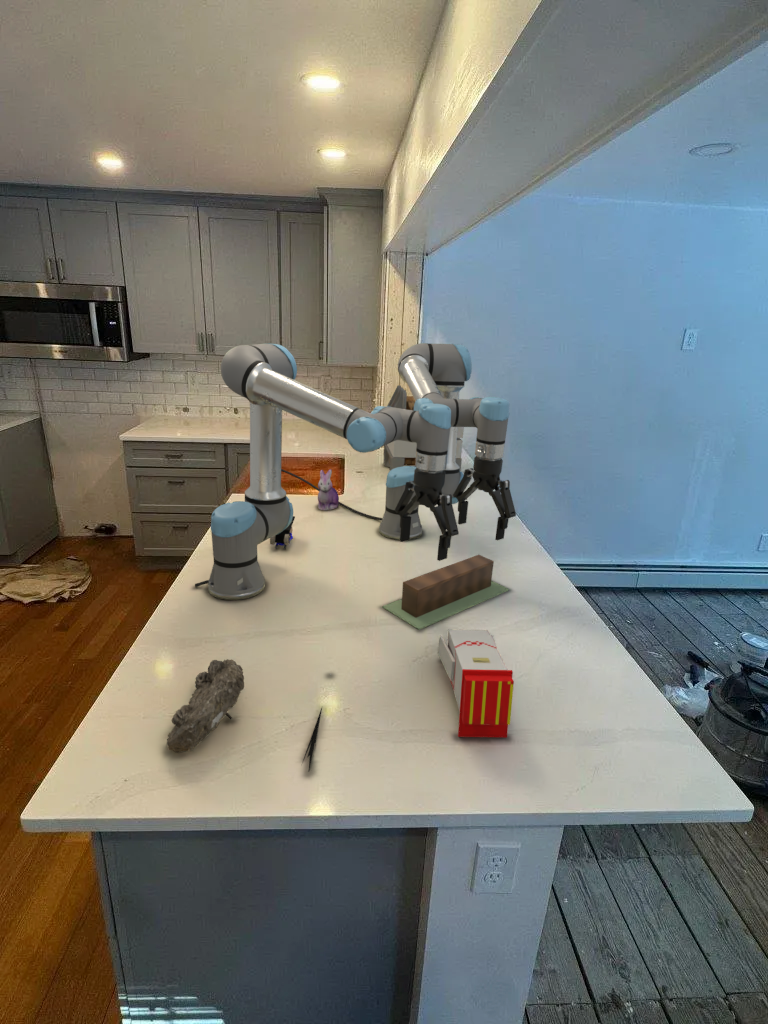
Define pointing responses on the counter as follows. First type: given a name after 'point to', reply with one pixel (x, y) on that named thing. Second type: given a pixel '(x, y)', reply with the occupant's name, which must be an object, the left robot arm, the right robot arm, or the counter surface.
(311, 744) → the feather
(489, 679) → the toy
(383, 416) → the left robot arm
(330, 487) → the figurine
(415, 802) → the counter surface
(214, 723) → the fossil
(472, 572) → the walnut box
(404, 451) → the grey slatted box
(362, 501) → the counter surface
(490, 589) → the mat
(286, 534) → the figurine character
